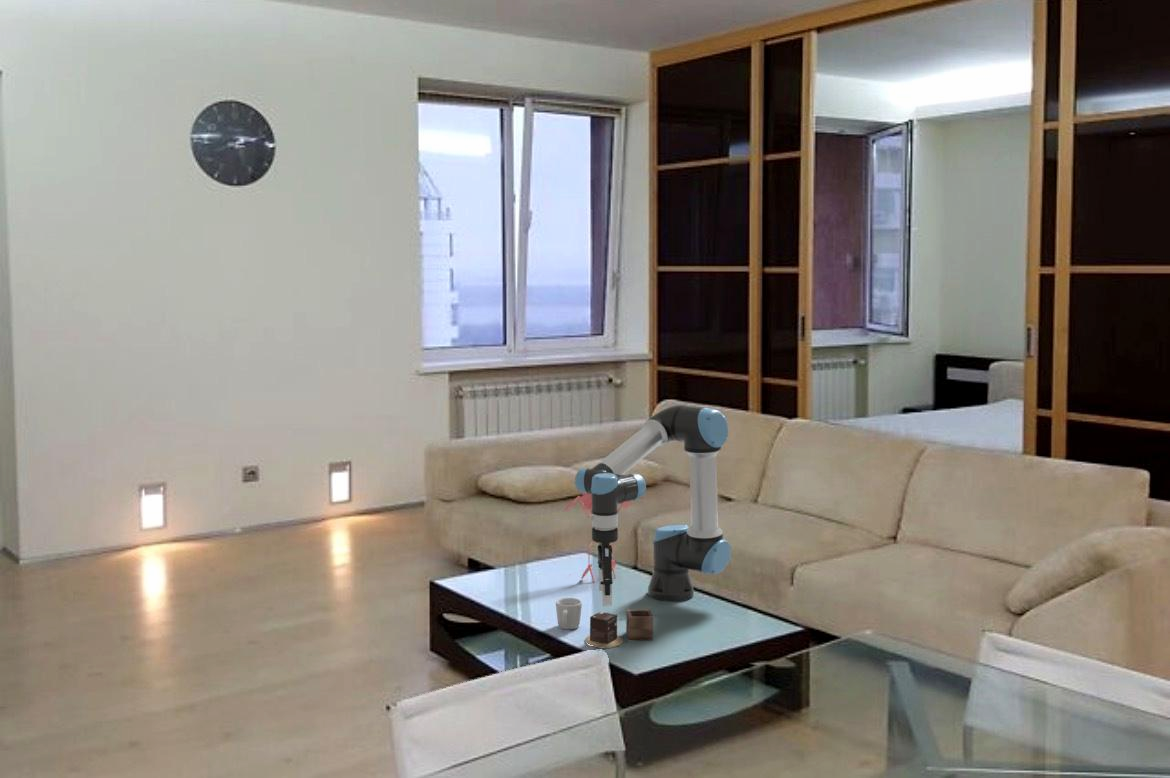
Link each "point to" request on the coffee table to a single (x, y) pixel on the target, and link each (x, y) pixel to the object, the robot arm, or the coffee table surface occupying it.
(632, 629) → the pen pot
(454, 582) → the coffee table surface
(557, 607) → the cup
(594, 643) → the coaster
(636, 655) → the coffee table surface
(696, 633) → the coffee table surface
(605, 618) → the box
